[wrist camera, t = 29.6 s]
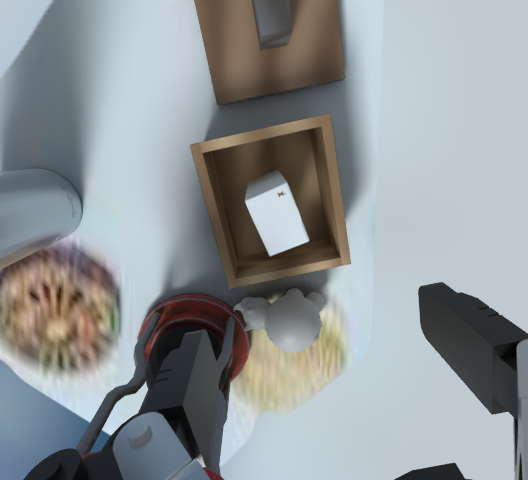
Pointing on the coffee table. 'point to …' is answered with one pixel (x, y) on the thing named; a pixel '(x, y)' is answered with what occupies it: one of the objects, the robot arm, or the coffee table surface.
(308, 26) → the lid
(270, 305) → the round bodied animal figurine
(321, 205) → the open wooden box
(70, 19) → the coffee table surface
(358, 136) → the coffee table surface
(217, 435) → the hourglass
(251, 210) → the skincare box
